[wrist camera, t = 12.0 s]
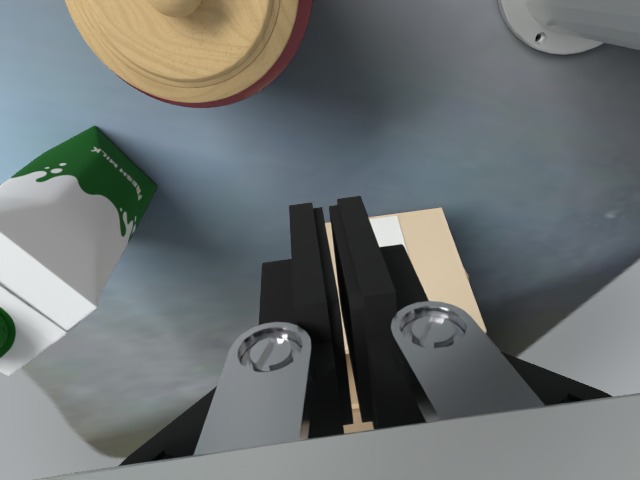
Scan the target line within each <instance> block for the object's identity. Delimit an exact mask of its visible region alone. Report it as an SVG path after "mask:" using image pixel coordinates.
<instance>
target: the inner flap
mask: <svg viewBox="0 0 640 480" xmlns="http://www.w3.org/2000/svg"><path fill="white" fill-rule="evenodd" d="M368 218H369V220H370V223H371V226H372V229H373V231H374V234H375V237H376V239H377V242H378V245H379V247H384V246H391V245H399V244H403V246H404V247H405V250H406V252H407V254H408V256H409V258H410V260H411V263H412V265H413V267H414V269H415V271H416V274H417V276H418V278H419V280H420V282H421V284H422V287H423V289H424V291H425V293H426V295H427V297H428V300H429V301H437V302H444V303H448V304H452V305H455V306H457V307H459V308H461V309H463V310H464V311H465V312H467V313H468V314H469V315H470V316H471V317H472V318H473V319H474V321H475V322H476V323H477V324H478V325H479V327H480V328H481V329H482V330H483V331H484V333H485V334H486V328H485V325H484V322H483V320H482V317H481V314H480V312H479V309H478V306H477V303H476V301H475V298H474V295H473V292H472V290H471V287H470V284H469V281H468V279H467V276H466V273H465V270H464V268H463V265H462V262H461V260H460V257H459V254H458V251H457V249H456V246H455V243H454V240H453V238H452V235H451V232H450V229H449V227H448V224H447V221H446V219H445V216H444V213H443V210H442V208H435V209H428V210H420V211H413V212H405V213H398V214H390V215H383V216H375V217H368ZM325 226H326V232H327V237H328V242H329V248H330V253H331V258H332V264H333V269H334V275H335V280H336V285H337V291H338V297H339V289H338V281H337V272H336V263H335V254H334V246H333V237H332V228H331V222H330V223H325ZM339 303H340V298H339ZM340 310H341V306H340ZM341 319H342V327H343V336H344V345H345V353H346V354H349V350H348V345H347V340H346V334H345V329H344V323H343V318H342V312H341Z"/></svg>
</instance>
